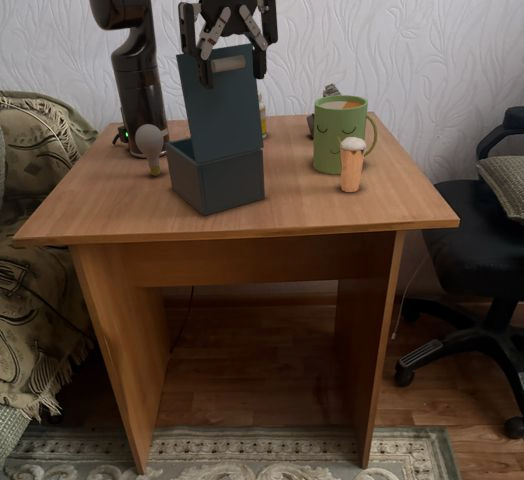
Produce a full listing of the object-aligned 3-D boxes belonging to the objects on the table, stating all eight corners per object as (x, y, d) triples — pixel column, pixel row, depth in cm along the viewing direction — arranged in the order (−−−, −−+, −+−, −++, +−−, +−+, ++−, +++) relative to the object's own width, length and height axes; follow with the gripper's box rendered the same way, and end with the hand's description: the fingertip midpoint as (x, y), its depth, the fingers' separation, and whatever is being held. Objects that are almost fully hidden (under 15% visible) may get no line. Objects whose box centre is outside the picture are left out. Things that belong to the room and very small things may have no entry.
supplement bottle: (270, 134, 118) (269, 91, 112) (259, 141, 115) (257, 96, 108) (251, 132, 120) (249, 89, 114) (240, 138, 117) (236, 94, 111)
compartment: (172, 189, 96) (164, 142, 90) (229, 174, 100) (224, 129, 95) (203, 216, 86) (196, 166, 80) (264, 198, 91) (262, 150, 85)
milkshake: (329, 187, 93) (332, 132, 86) (354, 182, 94) (359, 128, 88) (340, 196, 90) (344, 140, 83) (366, 191, 91) (371, 135, 84)
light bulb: (173, 171, 103) (165, 121, 96) (162, 181, 99) (153, 129, 92) (150, 169, 104) (140, 120, 98) (138, 179, 100) (127, 128, 94)
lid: (175, 54, 72) (188, 54, 68) (250, 43, 76) (266, 41, 72) (195, 163, 80) (207, 168, 77) (261, 147, 85) (276, 150, 81)
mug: (307, 172, 99) (308, 108, 91) (319, 154, 106) (321, 94, 99) (369, 177, 96) (376, 112, 88) (378, 158, 103) (384, 96, 95)
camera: (309, 132, 123) (298, 91, 117) (342, 120, 122) (333, 77, 115) (317, 154, 111) (306, 109, 105) (354, 141, 110) (345, 94, 103)
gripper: (257, -62, 67) (262, 71, 78) (160, -55, 62) (179, 86, 73) (286, -63, 62) (287, 80, 73) (183, -56, 57) (201, 96, 68)
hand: (233, 83), depth 73 cm, fingers open, 8 cm apart
